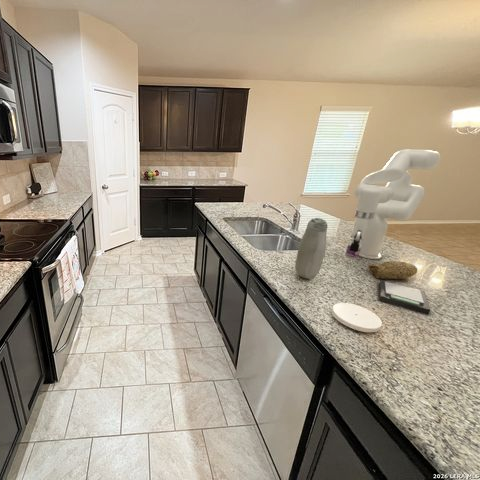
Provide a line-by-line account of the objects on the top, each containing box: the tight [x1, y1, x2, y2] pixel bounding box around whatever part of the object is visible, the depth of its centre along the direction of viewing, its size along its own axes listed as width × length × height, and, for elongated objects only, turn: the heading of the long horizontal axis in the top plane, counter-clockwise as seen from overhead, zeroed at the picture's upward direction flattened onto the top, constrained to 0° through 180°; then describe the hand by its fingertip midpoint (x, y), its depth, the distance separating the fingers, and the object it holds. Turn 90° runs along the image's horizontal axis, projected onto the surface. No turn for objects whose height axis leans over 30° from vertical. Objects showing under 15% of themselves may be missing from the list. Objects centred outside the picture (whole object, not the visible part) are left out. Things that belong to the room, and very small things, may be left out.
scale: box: [378, 279, 431, 316], centre depth 101 cm, size 16×14×3 cm
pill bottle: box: [344, 238, 362, 260], centre depth 127 cm, size 5×5×10 cm
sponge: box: [368, 260, 418, 280], centre depth 118 cm, size 13×8×20 cm
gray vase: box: [294, 217, 328, 279], centre depth 113 cm, size 10×10×28 cm
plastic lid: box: [331, 302, 383, 333], centre depth 88 cm, size 14×14×2 cm
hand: (353, 248), depth 127 cm, fingers closed on pill bottle, 5 cm apart
